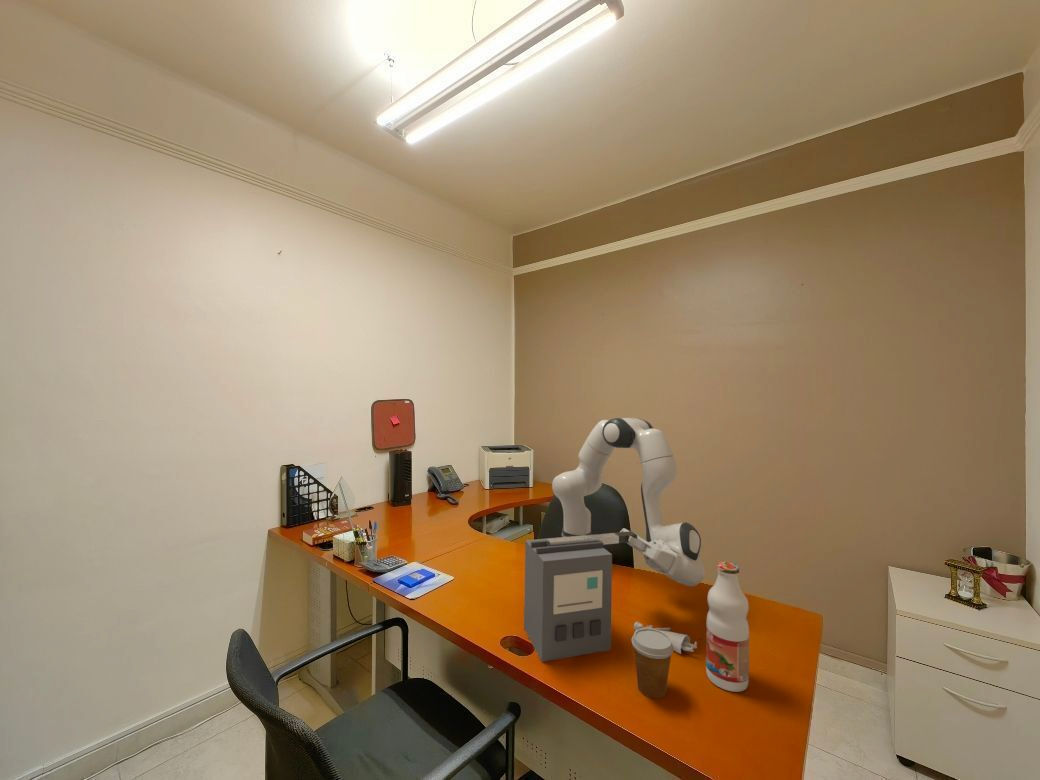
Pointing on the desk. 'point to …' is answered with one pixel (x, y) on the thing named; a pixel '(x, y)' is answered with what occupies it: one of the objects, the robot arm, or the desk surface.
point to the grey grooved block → (567, 598)
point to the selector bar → (593, 539)
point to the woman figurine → (673, 638)
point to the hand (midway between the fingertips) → (624, 535)
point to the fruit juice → (727, 631)
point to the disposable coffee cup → (652, 660)
